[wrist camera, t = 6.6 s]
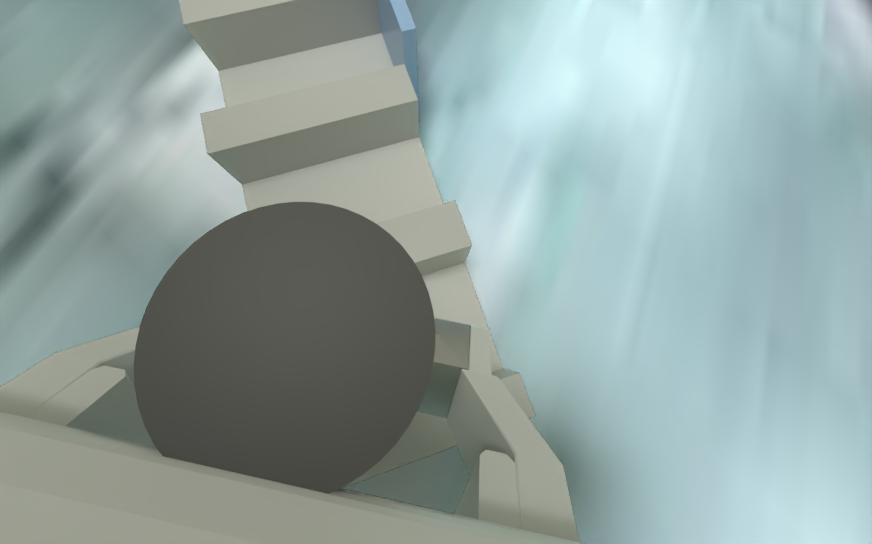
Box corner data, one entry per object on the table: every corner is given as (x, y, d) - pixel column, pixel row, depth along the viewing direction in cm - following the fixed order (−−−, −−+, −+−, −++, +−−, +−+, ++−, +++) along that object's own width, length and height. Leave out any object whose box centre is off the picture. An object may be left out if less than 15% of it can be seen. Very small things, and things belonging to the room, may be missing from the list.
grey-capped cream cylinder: (332, 317, 14) (119, 246, 4) (415, 291, 14) (388, 171, 5) (354, 404, 13) (153, 559, 4) (441, 374, 14) (476, 438, 4)
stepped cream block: (230, 72, 19) (151, -39, 13) (387, 35, 20) (372, -82, 14) (317, 467, 14) (248, 541, 9) (519, 394, 15) (570, 419, 10)
